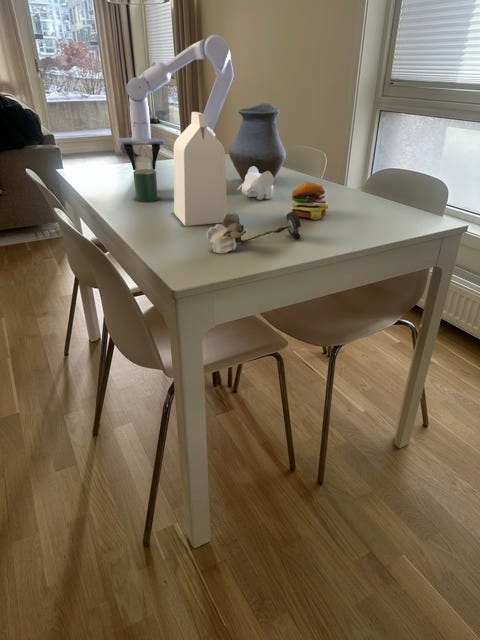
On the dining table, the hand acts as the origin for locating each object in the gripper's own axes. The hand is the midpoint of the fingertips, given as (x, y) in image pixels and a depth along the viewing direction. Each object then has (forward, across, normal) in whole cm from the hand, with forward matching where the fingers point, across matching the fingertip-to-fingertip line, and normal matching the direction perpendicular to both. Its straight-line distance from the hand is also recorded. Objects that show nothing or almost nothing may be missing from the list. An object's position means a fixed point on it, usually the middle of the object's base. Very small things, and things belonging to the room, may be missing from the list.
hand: (144, 169), depth 144 cm
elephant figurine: (+7, -34, +13) cm, 37 cm away
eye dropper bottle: (+5, 0, 0) cm, 5 cm away
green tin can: (+7, 0, +10) cm, 12 cm away
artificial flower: (+7, -24, +54) cm, 60 cm away
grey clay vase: (+7, -40, -12) cm, 42 cm away
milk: (+7, -14, +31) cm, 35 cm away
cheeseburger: (+7, -44, +33) cm, 55 cm away
